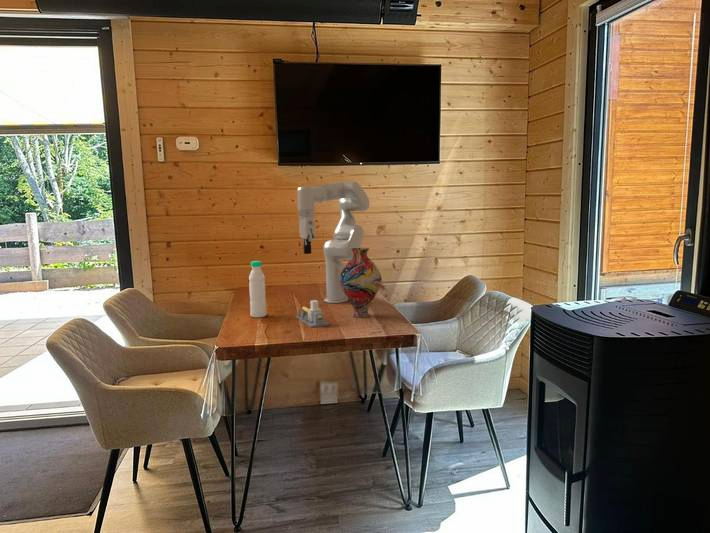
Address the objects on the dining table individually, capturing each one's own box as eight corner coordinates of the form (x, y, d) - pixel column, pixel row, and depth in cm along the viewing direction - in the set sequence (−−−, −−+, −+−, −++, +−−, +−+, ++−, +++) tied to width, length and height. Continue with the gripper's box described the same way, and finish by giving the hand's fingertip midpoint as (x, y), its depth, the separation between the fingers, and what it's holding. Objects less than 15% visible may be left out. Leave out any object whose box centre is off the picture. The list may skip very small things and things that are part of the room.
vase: (344, 321, 204) (342, 251, 200) (336, 312, 223) (335, 247, 219) (387, 318, 208) (386, 249, 204) (376, 309, 226) (375, 246, 222)
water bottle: (269, 315, 219) (267, 260, 216) (259, 318, 213) (256, 262, 210) (257, 313, 223) (255, 260, 219) (247, 316, 217) (244, 261, 213)
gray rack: (295, 317, 214) (295, 305, 213) (312, 315, 217) (312, 304, 216) (311, 327, 196) (310, 314, 195) (329, 325, 199) (329, 312, 199)
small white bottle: (308, 319, 204) (307, 300, 203) (318, 318, 206) (317, 299, 205) (311, 321, 200) (310, 302, 199) (321, 320, 202) (321, 301, 201)
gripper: (319, 213, 216) (320, 254, 218) (308, 213, 229) (309, 251, 232) (303, 214, 213) (305, 255, 215) (293, 214, 226) (294, 252, 229)
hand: (307, 253), depth 223 cm, fingers closed
